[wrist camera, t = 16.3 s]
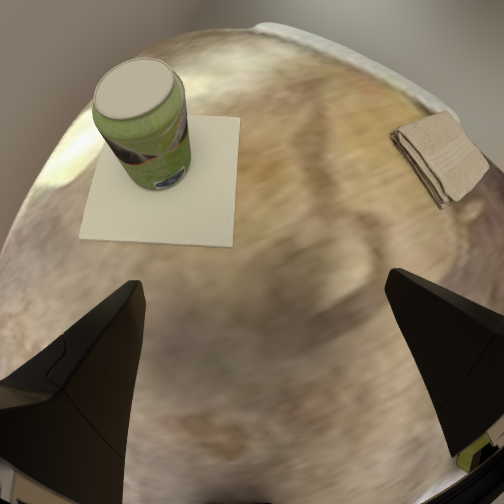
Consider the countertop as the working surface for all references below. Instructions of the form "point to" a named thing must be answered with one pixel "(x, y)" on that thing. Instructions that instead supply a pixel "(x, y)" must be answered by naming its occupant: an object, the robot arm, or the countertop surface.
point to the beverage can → (145, 121)
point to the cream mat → (170, 195)
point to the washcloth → (441, 156)
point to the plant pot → (470, 454)
